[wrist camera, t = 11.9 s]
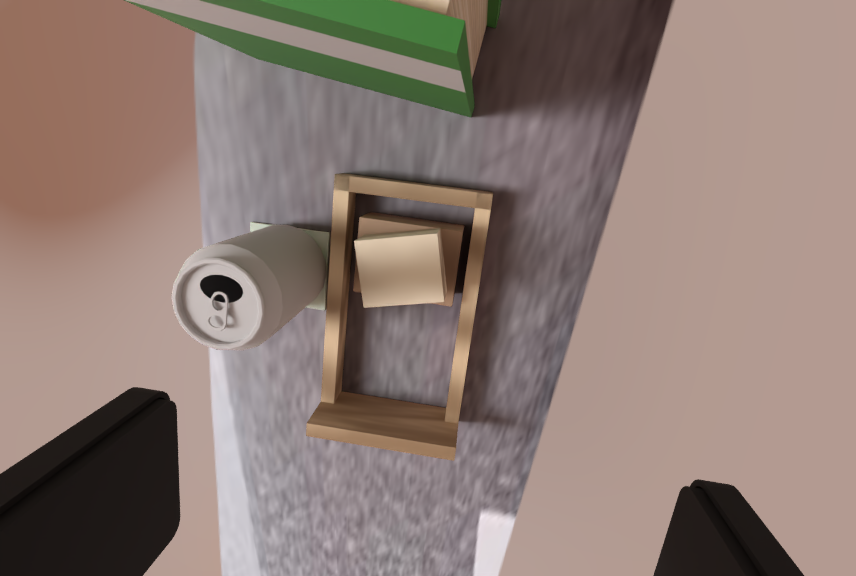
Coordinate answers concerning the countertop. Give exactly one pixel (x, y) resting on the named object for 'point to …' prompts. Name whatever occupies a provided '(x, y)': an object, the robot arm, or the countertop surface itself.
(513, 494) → the countertop surface
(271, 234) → the can
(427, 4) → the hardback book
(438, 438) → the frame
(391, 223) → the offcut large
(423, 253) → the offcut small
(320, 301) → the mat
